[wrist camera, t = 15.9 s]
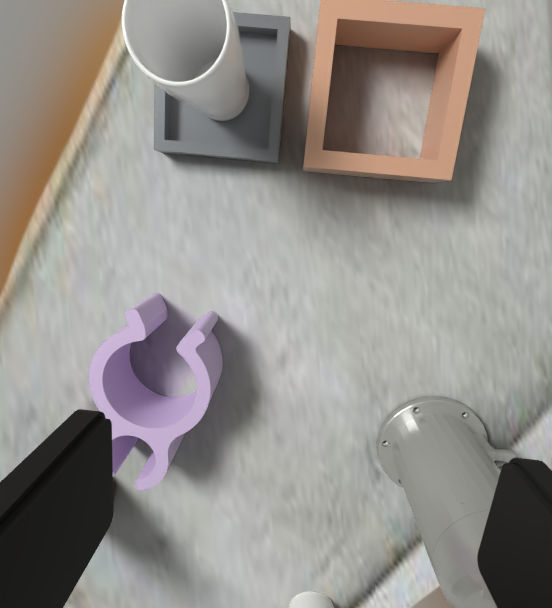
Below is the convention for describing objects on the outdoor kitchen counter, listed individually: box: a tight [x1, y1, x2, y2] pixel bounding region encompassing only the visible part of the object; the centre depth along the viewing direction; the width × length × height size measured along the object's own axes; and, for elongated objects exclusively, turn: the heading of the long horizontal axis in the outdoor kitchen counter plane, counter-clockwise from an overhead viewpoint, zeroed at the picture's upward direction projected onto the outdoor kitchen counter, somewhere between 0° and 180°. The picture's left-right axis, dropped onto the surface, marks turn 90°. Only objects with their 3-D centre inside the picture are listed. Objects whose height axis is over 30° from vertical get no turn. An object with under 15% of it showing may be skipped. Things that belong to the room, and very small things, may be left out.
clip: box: [89, 293, 223, 490], centre depth 44 cm, size 20×12×7 cm, turn 162°
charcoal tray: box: [154, 12, 291, 164], centre depth 37 cm, size 12×12×2 cm
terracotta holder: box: [303, 0, 485, 183], centre depth 36 cm, size 13×13×6 cm
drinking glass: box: [122, 0, 250, 121], centre depth 30 cm, size 7×7×15 cm
